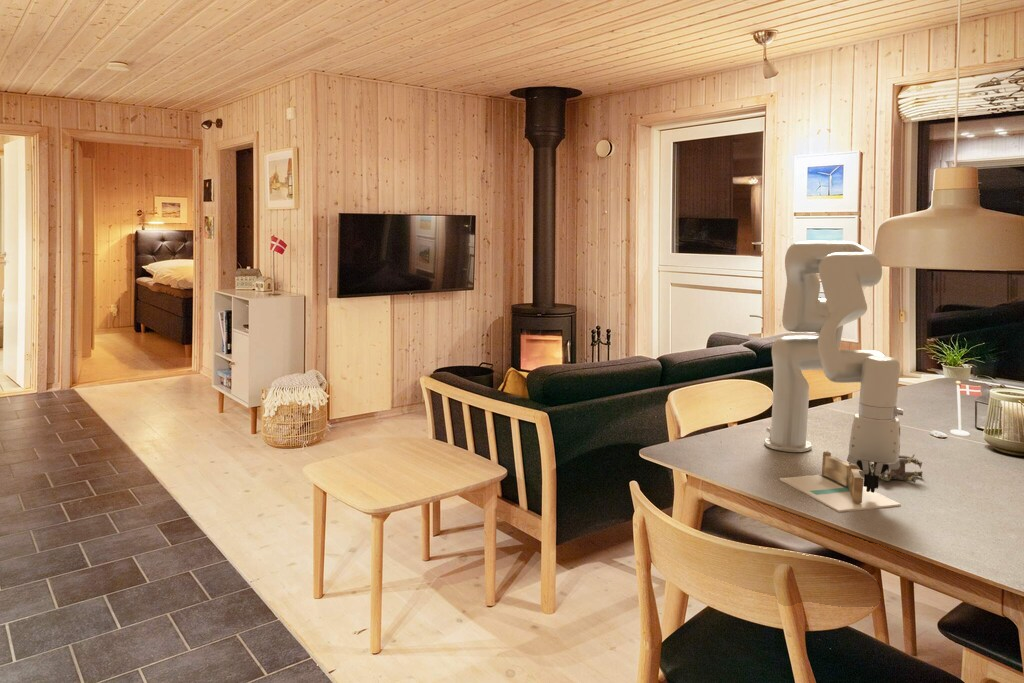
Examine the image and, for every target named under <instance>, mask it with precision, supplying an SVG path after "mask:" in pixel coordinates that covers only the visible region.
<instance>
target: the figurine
mask: <svg viewBox="0 0 1024 683" xmlns="http://www.w3.org/2000/svg"><path fill="white" fill-rule="evenodd" d="M914 457H915V453H913V454H912V455H911V456H908V455H903V454H899V458H898V460H899V465H900V466H899V469H891V470H890V469H889V470H886V471H885V472H883V473H882V474H880V476H879V480H882V481H885V482H891V480H897V481H898V480H899V481H905V482H910V483H913V484H916V481H917V480H918V477H920V478H923V471H922V470H921V471H918V470H914V471H906V465H908V464H909V465H910V464H911V463H912V464H913V465H915V466H916V465H918V467H919V469H921V468H922V465H923V462H922V461H919V459H918V458H914ZM848 463H849V464H850V462H848ZM869 464H870V469H871V472H872V474H873V472H874V470H875V469H876V466H877V463H876V462H869ZM859 470H860V471H862V470H861V469H860V468H859V467H858V471H859Z"/></svg>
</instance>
